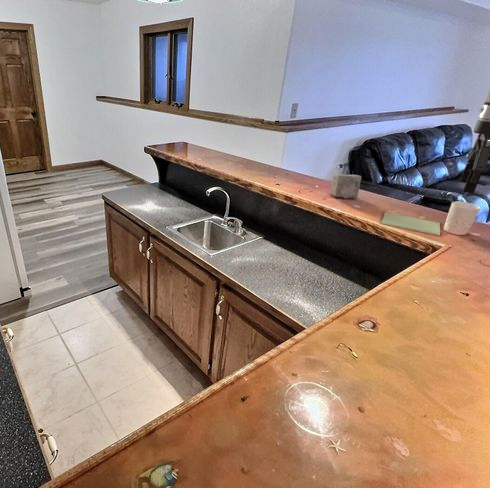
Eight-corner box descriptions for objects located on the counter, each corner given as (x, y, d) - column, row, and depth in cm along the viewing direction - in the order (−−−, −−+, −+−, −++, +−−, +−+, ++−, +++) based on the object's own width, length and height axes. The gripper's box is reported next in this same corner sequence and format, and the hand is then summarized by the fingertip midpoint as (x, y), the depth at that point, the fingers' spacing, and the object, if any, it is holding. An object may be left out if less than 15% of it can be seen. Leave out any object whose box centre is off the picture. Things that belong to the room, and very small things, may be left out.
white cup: (447, 234, 122) (458, 207, 118) (437, 226, 129) (447, 200, 125) (473, 237, 121) (485, 210, 116) (461, 228, 128) (473, 202, 123)
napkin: (439, 223, 132) (439, 222, 132) (439, 235, 121) (440, 235, 121) (385, 212, 141) (385, 211, 141) (381, 223, 130) (381, 222, 130)
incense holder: (350, 194, 161) (356, 172, 156) (356, 200, 154) (363, 177, 149) (328, 193, 162) (333, 171, 158) (333, 199, 155) (339, 176, 150)
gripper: (473, 116, 118) (450, 177, 128) (483, 123, 100) (454, 194, 109) (502, 117, 115) (476, 180, 124) (517, 126, 96) (485, 199, 105)
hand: (466, 187), depth 117 cm, fingers open, 13 cm apart
